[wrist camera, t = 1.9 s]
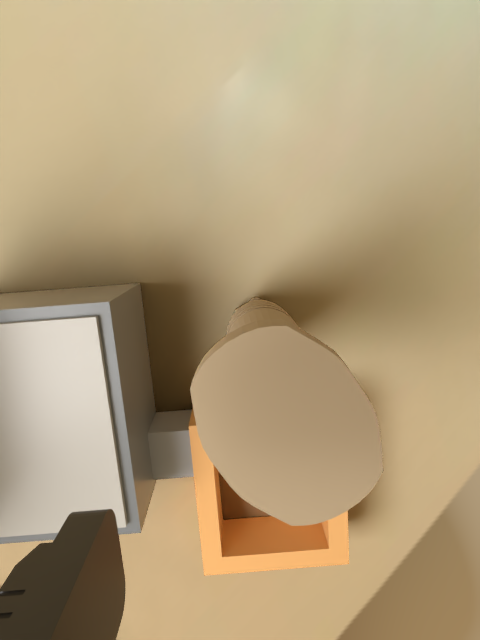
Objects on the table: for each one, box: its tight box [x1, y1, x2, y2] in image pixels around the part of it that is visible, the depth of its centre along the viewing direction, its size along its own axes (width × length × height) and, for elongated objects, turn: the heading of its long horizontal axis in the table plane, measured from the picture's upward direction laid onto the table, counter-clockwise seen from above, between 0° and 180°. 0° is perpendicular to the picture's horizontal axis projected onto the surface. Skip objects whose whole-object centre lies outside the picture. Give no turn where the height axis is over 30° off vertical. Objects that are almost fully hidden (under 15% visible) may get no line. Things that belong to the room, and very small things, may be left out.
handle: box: [190, 297, 383, 526], centre depth 20 cm, size 5×6×15 cm
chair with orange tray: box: [0, 283, 349, 576], centre depth 20 cm, size 18×22×17 cm
